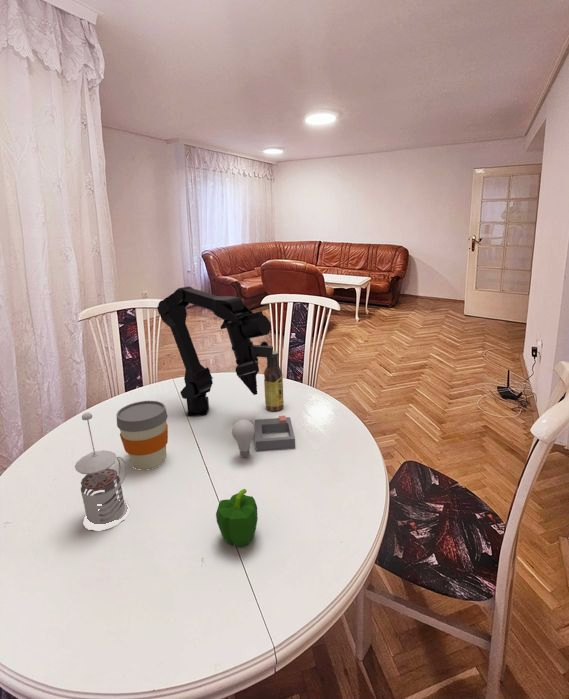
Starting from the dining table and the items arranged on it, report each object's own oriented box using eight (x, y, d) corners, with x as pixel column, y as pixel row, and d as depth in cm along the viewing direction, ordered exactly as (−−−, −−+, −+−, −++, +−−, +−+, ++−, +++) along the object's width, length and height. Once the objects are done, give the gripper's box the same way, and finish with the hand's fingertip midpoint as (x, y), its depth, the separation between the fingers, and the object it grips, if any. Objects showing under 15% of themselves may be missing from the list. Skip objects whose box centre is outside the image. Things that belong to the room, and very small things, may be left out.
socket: (256, 451, 111) (255, 439, 110) (255, 428, 123) (254, 417, 122) (295, 448, 112) (295, 436, 111) (290, 425, 124) (290, 414, 123)
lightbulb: (247, 466, 104) (244, 428, 101) (229, 459, 108) (226, 422, 104) (260, 454, 109) (258, 418, 106) (243, 448, 112) (240, 413, 109)
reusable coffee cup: (140, 446, 115) (132, 398, 111) (180, 450, 113) (174, 401, 108) (114, 472, 104) (104, 420, 99) (158, 476, 101) (150, 423, 97)
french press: (71, 525, 86) (47, 420, 78) (112, 492, 96) (93, 396, 88) (107, 536, 82) (84, 428, 75) (145, 501, 92) (129, 402, 85)
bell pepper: (231, 560, 75) (227, 516, 72) (211, 534, 82) (207, 493, 79) (268, 539, 80) (266, 497, 77) (247, 517, 86) (244, 477, 83)
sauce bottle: (283, 411, 134) (281, 355, 128) (264, 412, 134) (262, 356, 128) (284, 403, 140) (282, 349, 134) (266, 403, 140) (263, 349, 134)
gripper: (268, 335, 107) (284, 390, 109) (266, 330, 126) (279, 377, 128) (228, 347, 107) (244, 401, 109) (231, 340, 125) (246, 386, 127)
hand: (255, 390), depth 118 cm, fingers open, 9 cm apart
